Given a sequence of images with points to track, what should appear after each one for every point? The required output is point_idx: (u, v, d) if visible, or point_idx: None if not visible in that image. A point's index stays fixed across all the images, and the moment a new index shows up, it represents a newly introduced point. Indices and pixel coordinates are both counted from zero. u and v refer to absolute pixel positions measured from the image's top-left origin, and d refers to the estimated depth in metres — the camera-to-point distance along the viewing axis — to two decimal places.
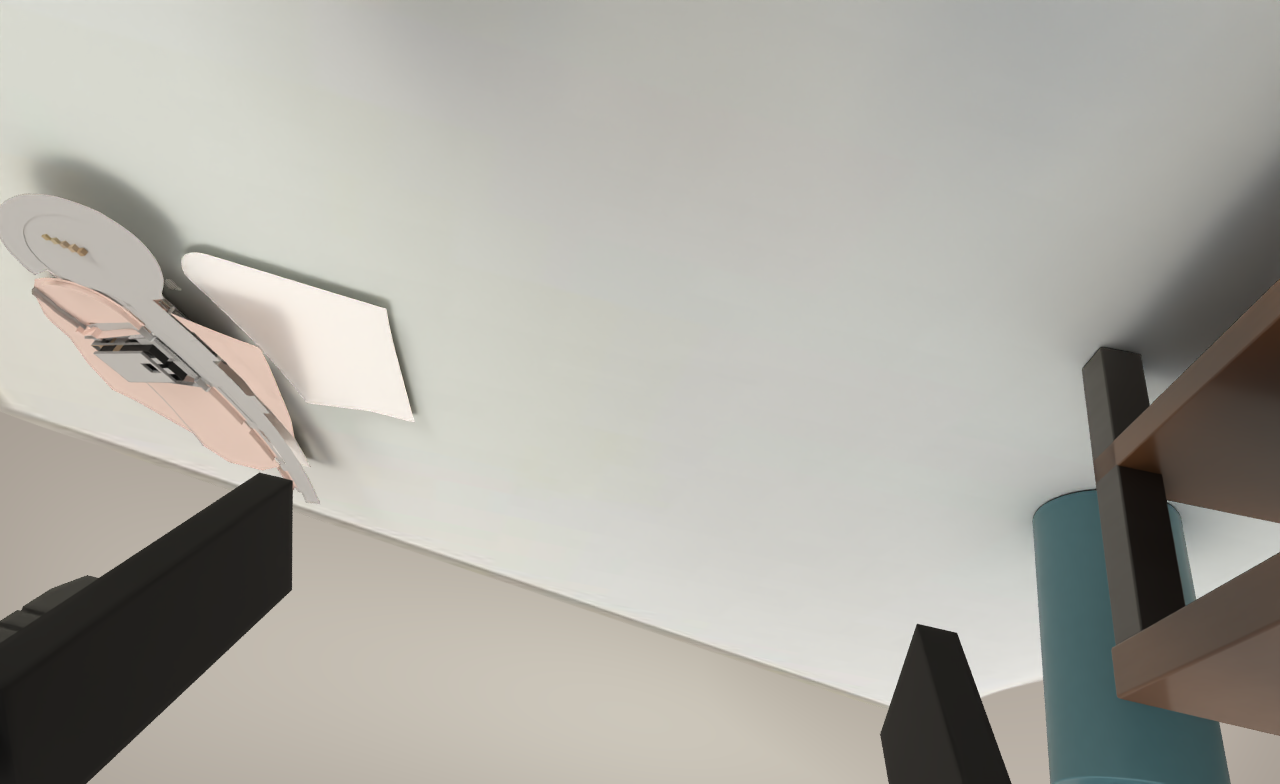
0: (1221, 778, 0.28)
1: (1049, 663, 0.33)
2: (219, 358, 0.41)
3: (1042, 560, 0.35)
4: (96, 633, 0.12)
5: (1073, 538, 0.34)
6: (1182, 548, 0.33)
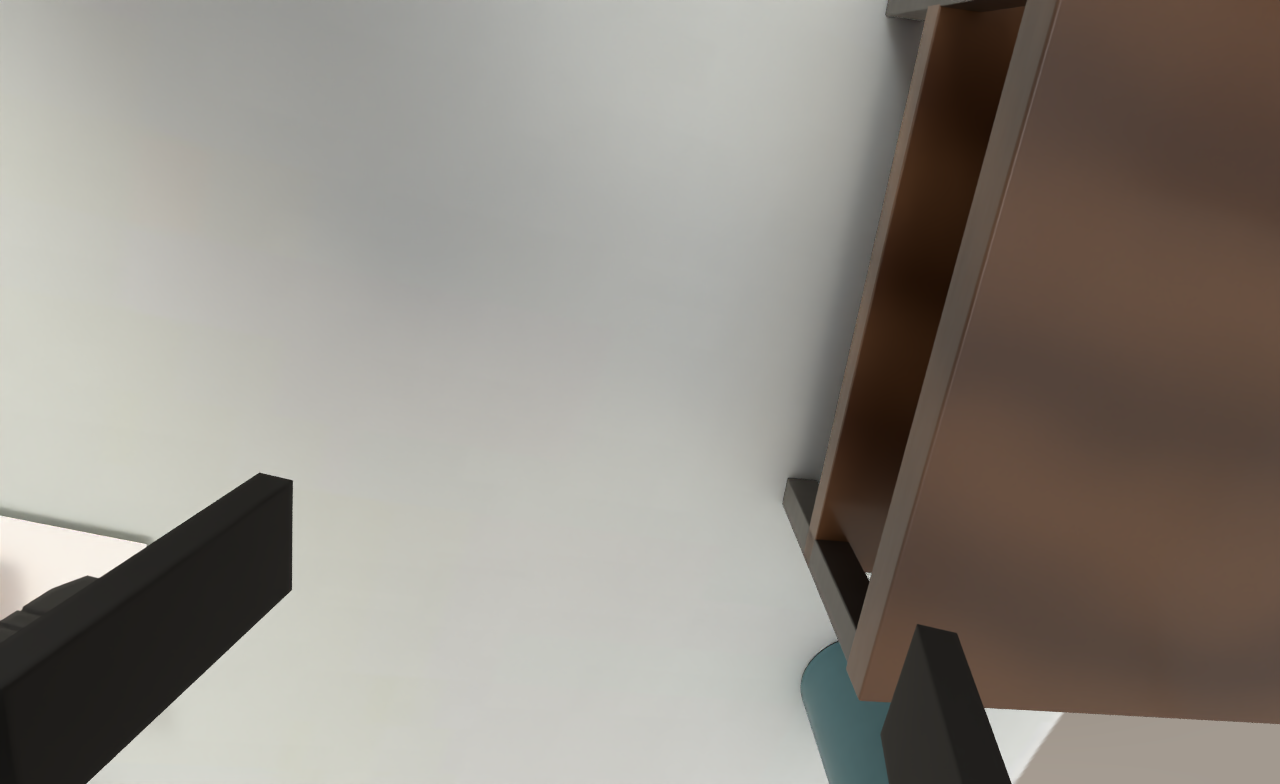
0: None
1: None
2: None
3: (814, 719, 0.37)
4: (95, 633, 0.12)
5: (831, 685, 0.37)
6: None
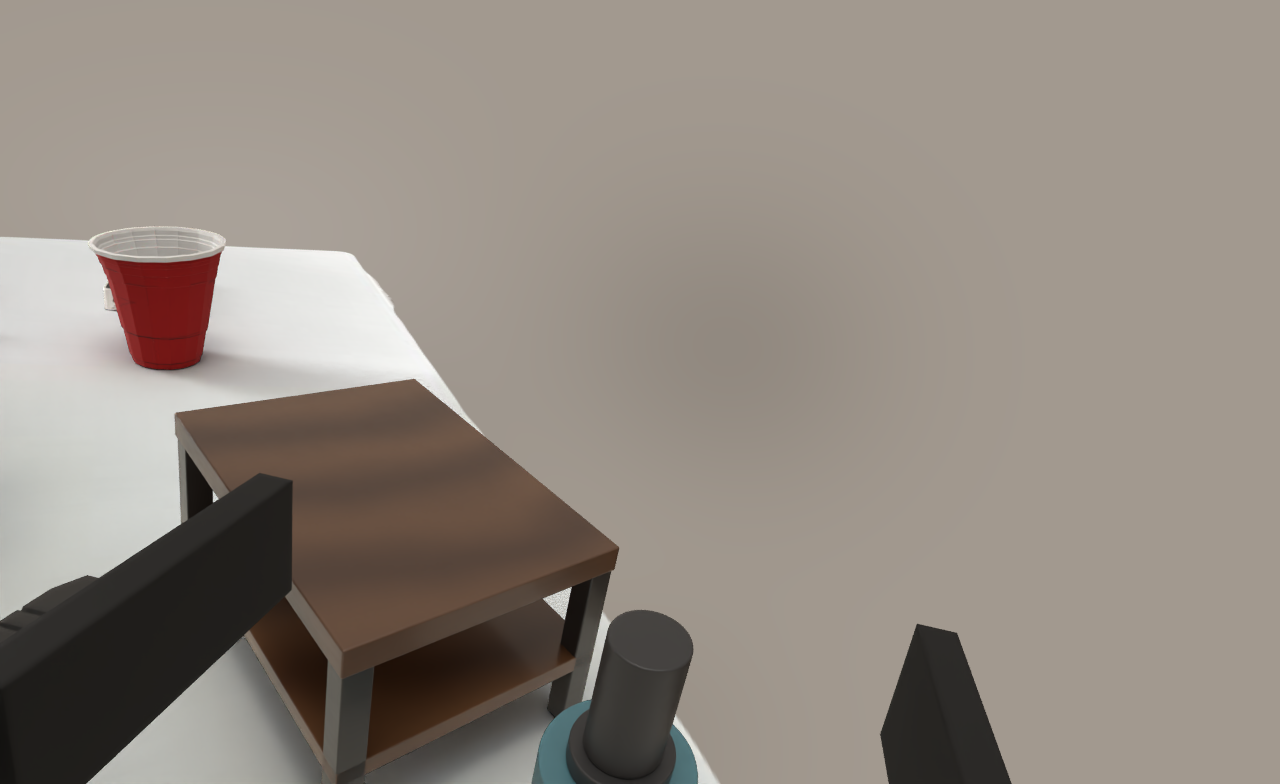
0: None
1: None
2: None
3: None
4: (95, 634, 0.12)
5: None
6: None
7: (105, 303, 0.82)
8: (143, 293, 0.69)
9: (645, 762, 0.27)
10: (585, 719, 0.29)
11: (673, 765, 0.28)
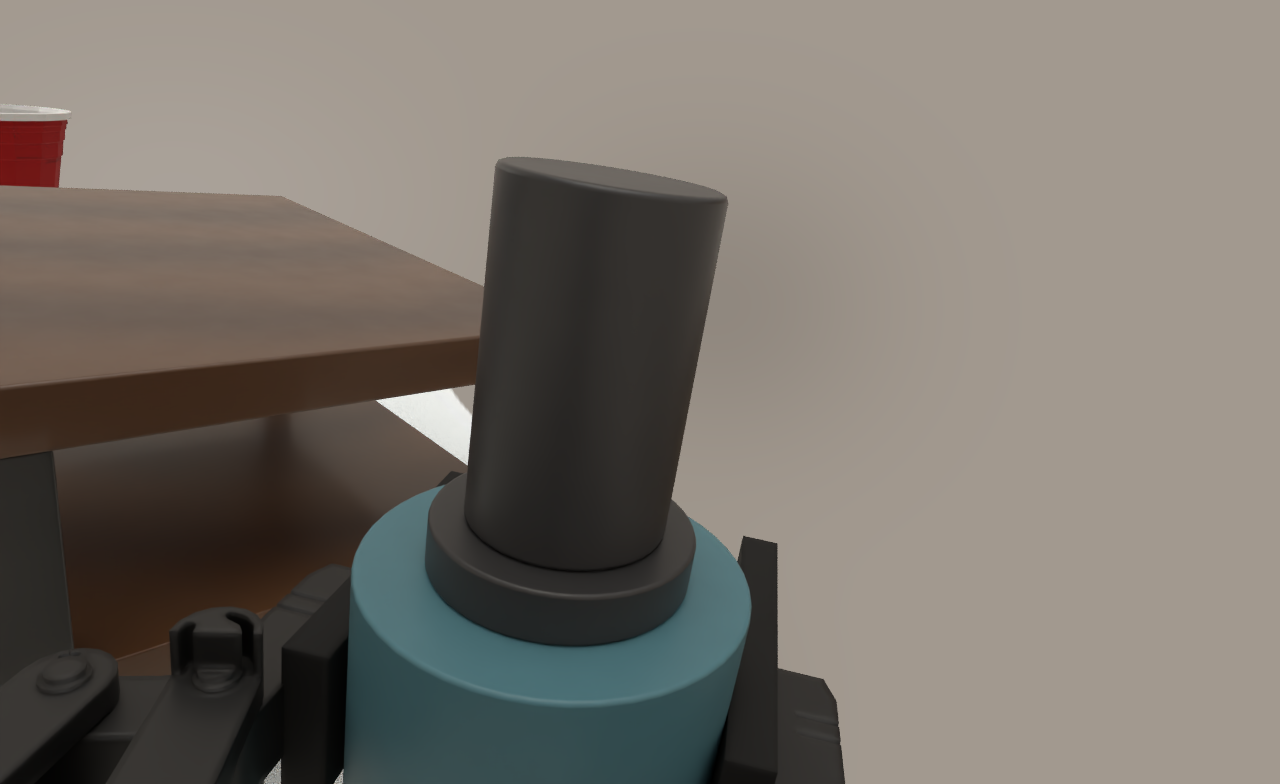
0: None
1: None
2: None
3: None
4: None
5: None
6: None
7: None
8: None
9: (618, 522, 0.10)
10: None
11: (691, 552, 0.11)
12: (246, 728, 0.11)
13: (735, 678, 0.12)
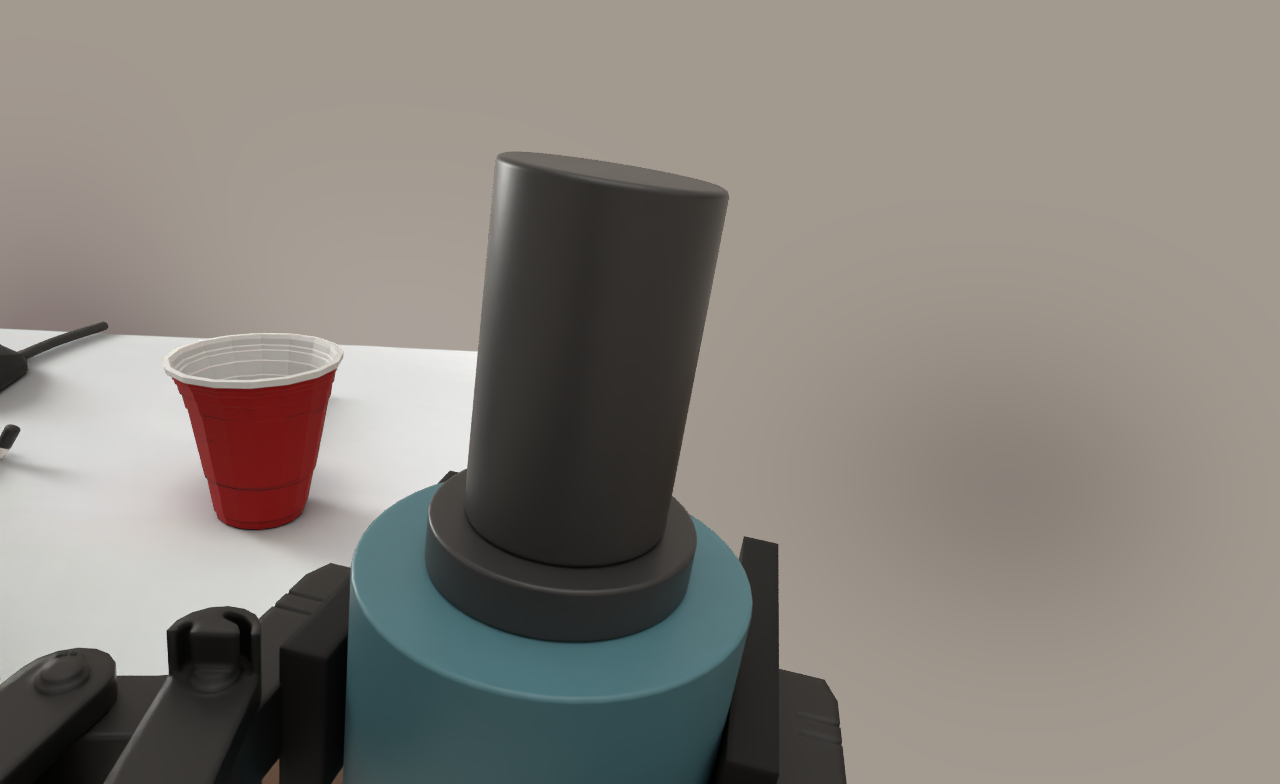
0: None
1: None
2: None
3: None
4: None
5: None
6: None
7: None
8: (223, 429, 0.49)
9: (619, 517, 0.10)
10: None
11: (692, 548, 0.11)
12: (244, 728, 0.11)
13: (736, 674, 0.11)
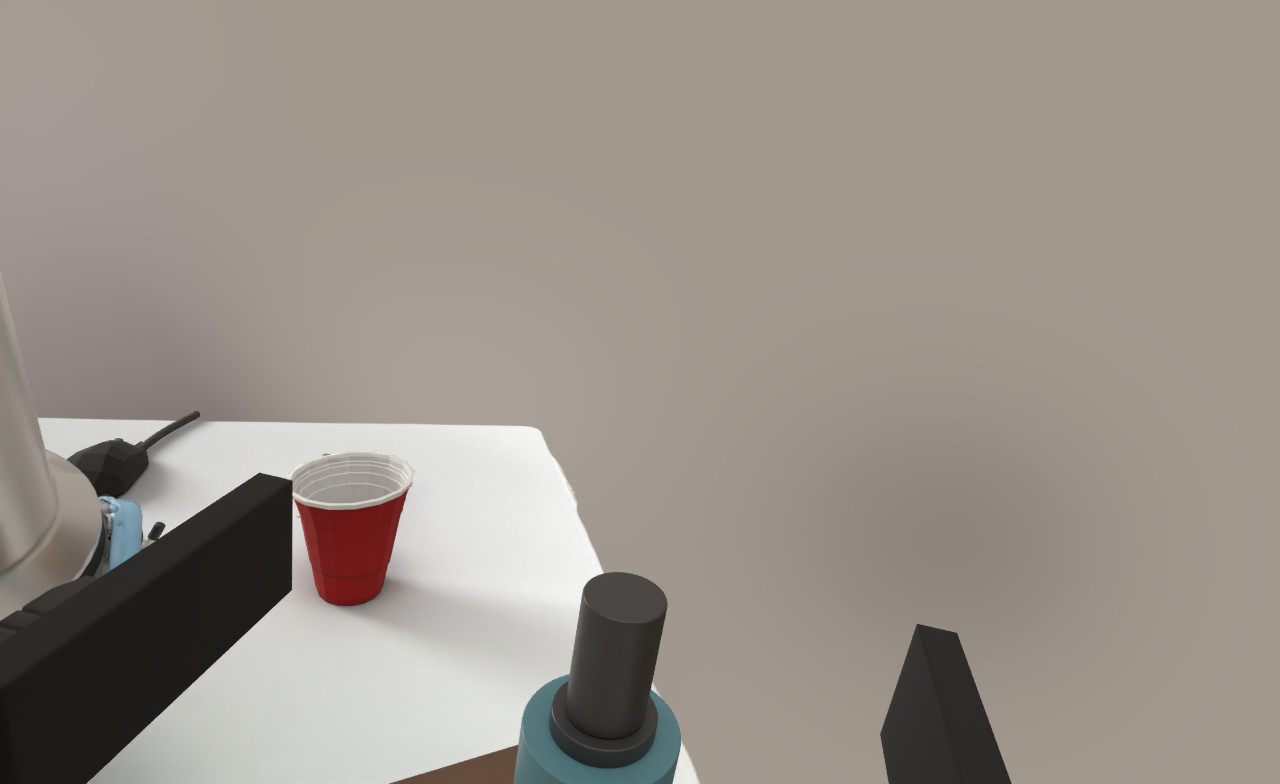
0: None
1: None
2: None
3: None
4: (96, 633, 0.12)
5: None
6: None
7: (297, 510, 0.82)
8: (330, 536, 0.66)
9: (626, 721, 0.28)
10: (567, 688, 0.30)
11: (655, 726, 0.29)
12: None
13: (673, 775, 0.29)
